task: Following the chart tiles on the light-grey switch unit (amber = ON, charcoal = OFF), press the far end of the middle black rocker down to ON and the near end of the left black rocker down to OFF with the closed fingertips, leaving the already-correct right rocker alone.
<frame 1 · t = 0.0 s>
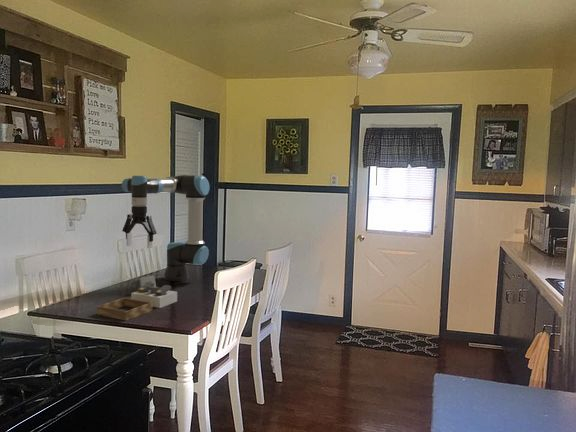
hand: (139, 246, 249), 28 cm above the table, fingers open, 13 cm apart
rocker 1: (145, 287, 250), point 7 cm above the table, hinge at 14.0°
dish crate: (125, 312, 229), on the table
switch unit: (154, 302, 248), on the table
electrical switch: (146, 293, 267), on the table
rocker 3: (163, 290, 245), point 7 cm above the table, hinge at 14.0°
rocker 2: (154, 288, 248), point 7 cm above the table, hinge at -14.0°
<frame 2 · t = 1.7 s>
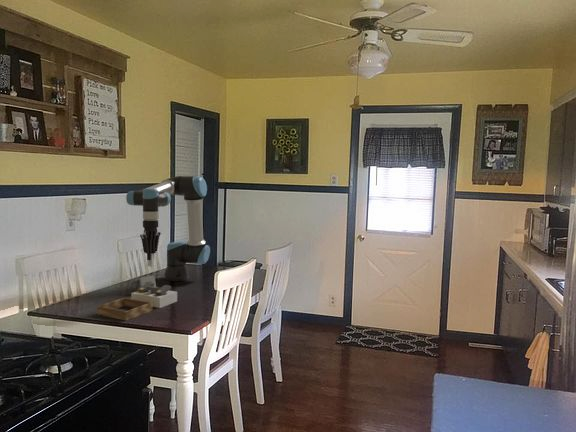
hand: (150, 266, 244), 19 cm above the table, fingers closed
nothing on the table moved.
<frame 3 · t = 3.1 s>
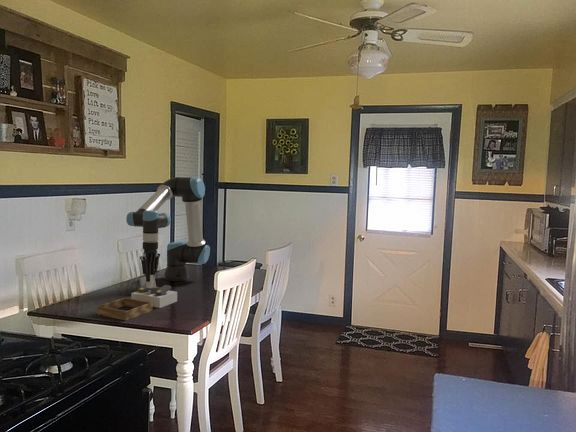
hand: (149, 287, 244), 8 cm above the table, fingers closed
rocker 2: (154, 288, 248), point 7 cm above the table, hinge at -13.2°, touching gripper
everything else where it was.
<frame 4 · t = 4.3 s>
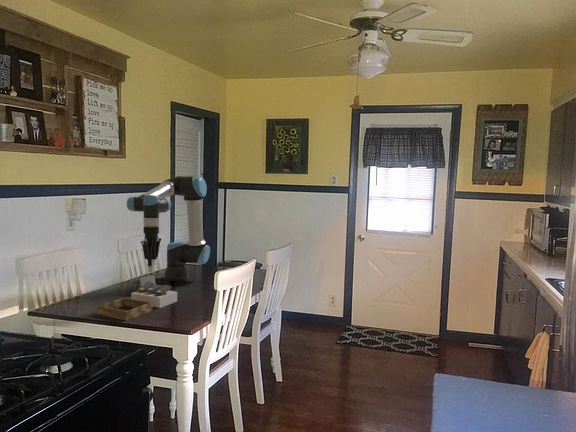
hand: (151, 272, 244), 16 cm above the table, fingers closed
rocker 2: (154, 288, 248), point 7 cm above the table, hinge at 5.8°
everything else where it was.
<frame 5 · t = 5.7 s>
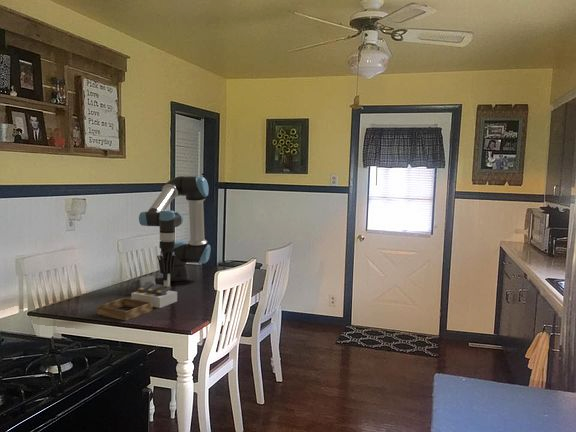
hand: (166, 286, 248), 8 cm above the table, fingers closed
rocker 3: (163, 290, 245), point 7 cm above the table, hinge at 13.9°, touching gripper
rocker 2: (154, 288, 248), point 7 cm above the table, hinge at 10.6°
everything else where it was.
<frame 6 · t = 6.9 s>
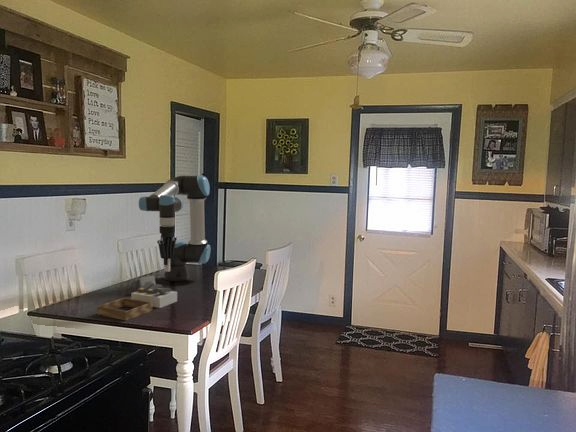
hand: (167, 271, 248), 16 cm above the table, fingers closed
rocker 3: (163, 290, 245), point 7 cm above the table, hinge at -9.8°
rocker 2: (154, 288, 248), point 7 cm above the table, hinge at 11.5°
everything else where it was.
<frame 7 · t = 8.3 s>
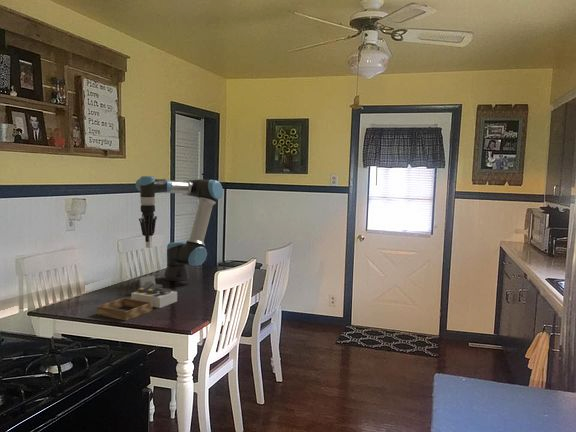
hand: (148, 247, 265), 25 cm above the table, fingers closed
rocker 3: (163, 290, 245), point 7 cm above the table, hinge at -14.6°
everything else where it was.
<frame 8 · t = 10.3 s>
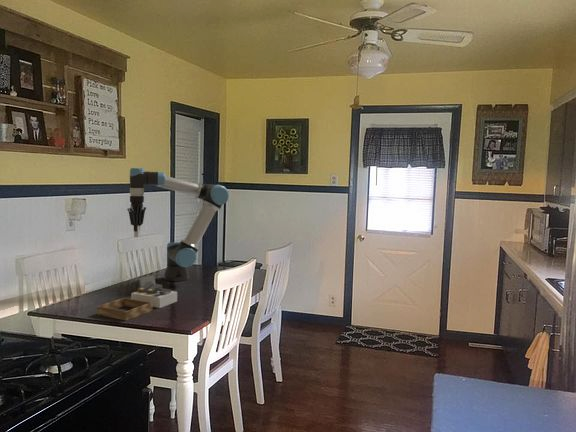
hand: (136, 236, 274), 29 cm above the table, fingers closed
rocker 3: (163, 290, 245), point 7 cm above the table, hinge at -15.7°
everything else where it was.
at the end: rocker 2 at +12° (first picture: -14°); rocker 3 at -16° (first picture: +14°); rocker 1 at +14° (first picture: +14°) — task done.
